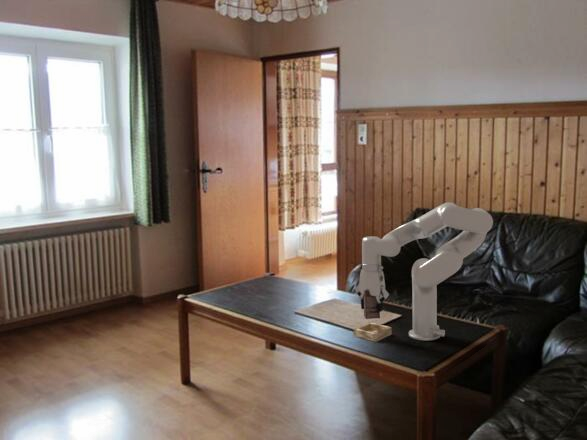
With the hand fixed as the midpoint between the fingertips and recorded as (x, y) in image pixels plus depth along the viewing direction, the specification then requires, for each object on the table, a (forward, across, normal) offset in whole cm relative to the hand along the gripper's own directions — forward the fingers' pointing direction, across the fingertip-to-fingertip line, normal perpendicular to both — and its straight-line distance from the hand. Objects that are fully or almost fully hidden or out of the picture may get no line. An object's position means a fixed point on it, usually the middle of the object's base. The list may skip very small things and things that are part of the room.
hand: (371, 309), depth 246 cm
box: (+3, 0, 0) cm, 3 cm away
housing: (+11, 0, 0) cm, 11 cm away
